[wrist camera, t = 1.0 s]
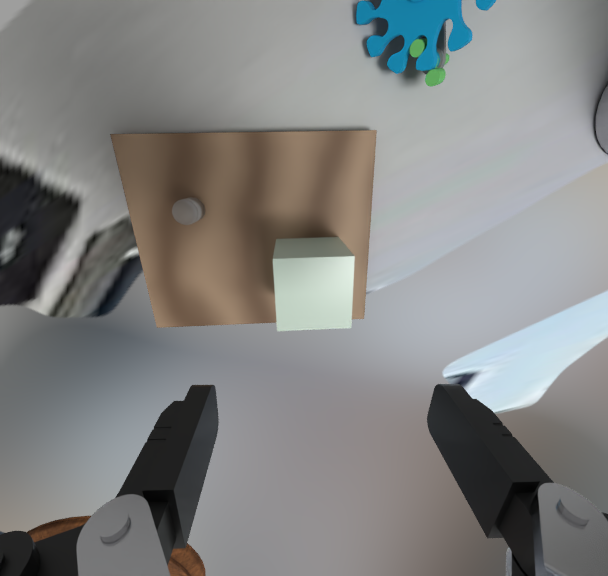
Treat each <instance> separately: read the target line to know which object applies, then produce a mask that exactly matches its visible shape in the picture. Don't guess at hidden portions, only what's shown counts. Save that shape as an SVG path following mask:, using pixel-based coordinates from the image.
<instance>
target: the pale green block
mask: <svg viewBox="0 0 608 576" xmlns="http://www.w3.org/2000/svg"><path fill="white" fill-rule="evenodd" d="M354 261H355V256H354V255H353V253H352V252H351V251H350V250H349V249H348V247H347V246H346V245H345V244H344V243H343V241H342V240H341V239H340V238H339V237H320V238H287V239H276V243H275V249H274V254H273V273H274V289H275V305H276V321H277V331H293V330H315V329H338V328H351V324H352V303H353V282H354Z"/></svg>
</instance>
